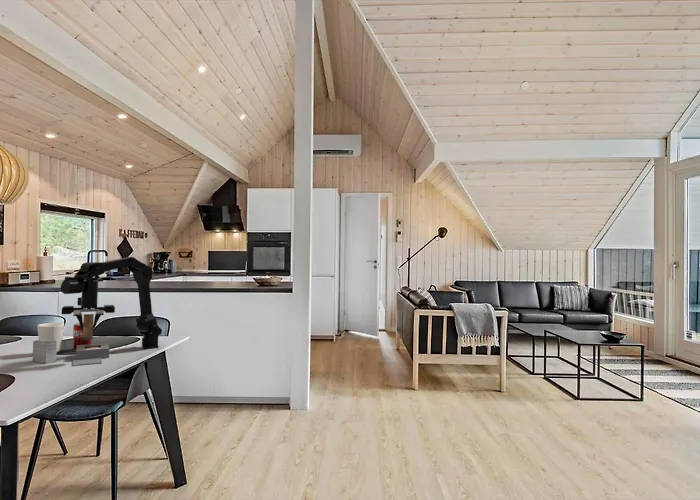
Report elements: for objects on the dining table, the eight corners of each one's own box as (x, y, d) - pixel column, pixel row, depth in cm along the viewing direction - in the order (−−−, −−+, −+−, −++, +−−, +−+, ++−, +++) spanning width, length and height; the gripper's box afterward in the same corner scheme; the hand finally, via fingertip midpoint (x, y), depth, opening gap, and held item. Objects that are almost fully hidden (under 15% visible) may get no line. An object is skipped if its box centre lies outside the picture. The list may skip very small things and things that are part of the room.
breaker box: (107, 351, 195) (108, 342, 195) (109, 357, 184) (109, 348, 184) (76, 354, 188) (76, 345, 188) (76, 360, 178) (76, 350, 178)
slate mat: (101, 358, 182) (101, 357, 182) (101, 363, 175) (101, 362, 175) (73, 361, 177) (73, 360, 177) (72, 366, 170) (72, 365, 170)
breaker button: (98, 353, 190) (98, 346, 190) (98, 355, 186) (99, 348, 186) (86, 354, 187) (86, 347, 187) (86, 356, 183) (86, 349, 183)
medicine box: (56, 361, 177) (57, 340, 177) (45, 363, 172) (46, 342, 172) (43, 359, 179) (43, 338, 179) (32, 361, 175) (32, 340, 175)
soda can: (82, 351, 194) (83, 325, 194) (68, 350, 195) (69, 324, 195) (94, 348, 201) (95, 322, 201) (81, 347, 202) (82, 322, 202)
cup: (49, 356, 184) (50, 326, 184) (30, 354, 186) (31, 325, 186) (68, 351, 194) (69, 323, 194) (50, 349, 196) (51, 322, 196)
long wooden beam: (92, 337, 180) (93, 314, 180) (92, 339, 177) (93, 315, 177) (82, 338, 178) (83, 314, 178) (82, 339, 175) (83, 315, 175)
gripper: (114, 291, 189) (112, 326, 189) (63, 291, 180) (62, 328, 179) (115, 293, 180) (113, 330, 179) (62, 293, 170) (60, 332, 170)
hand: (88, 330), depth 177 cm, fingers closed on long wooden beam, 3 cm apart
